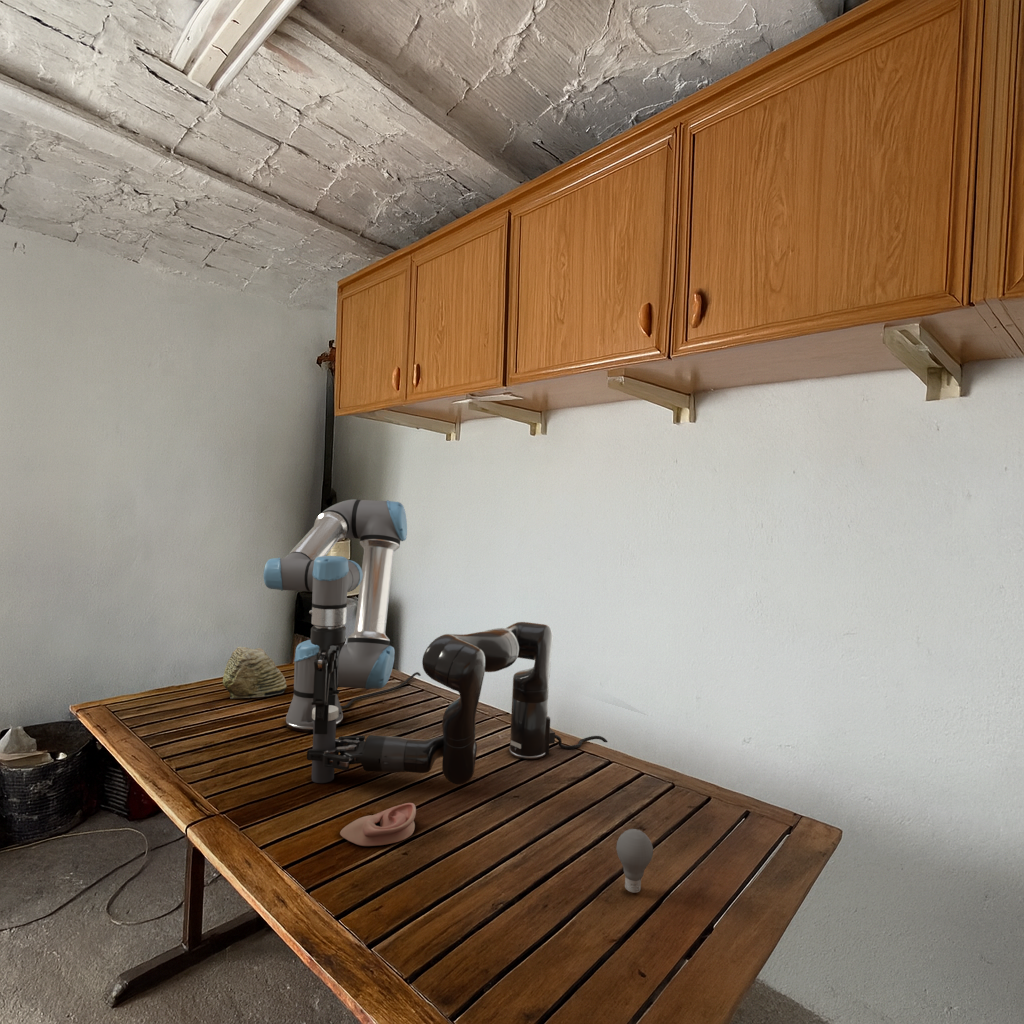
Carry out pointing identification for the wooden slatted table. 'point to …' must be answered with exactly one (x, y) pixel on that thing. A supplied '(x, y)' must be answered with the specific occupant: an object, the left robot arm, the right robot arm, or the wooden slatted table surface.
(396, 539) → the left robot arm
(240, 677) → the fossil
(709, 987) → the wooden slatted table surface
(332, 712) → the lid
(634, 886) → the light bulb
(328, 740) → the jar
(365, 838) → the anatomical model
